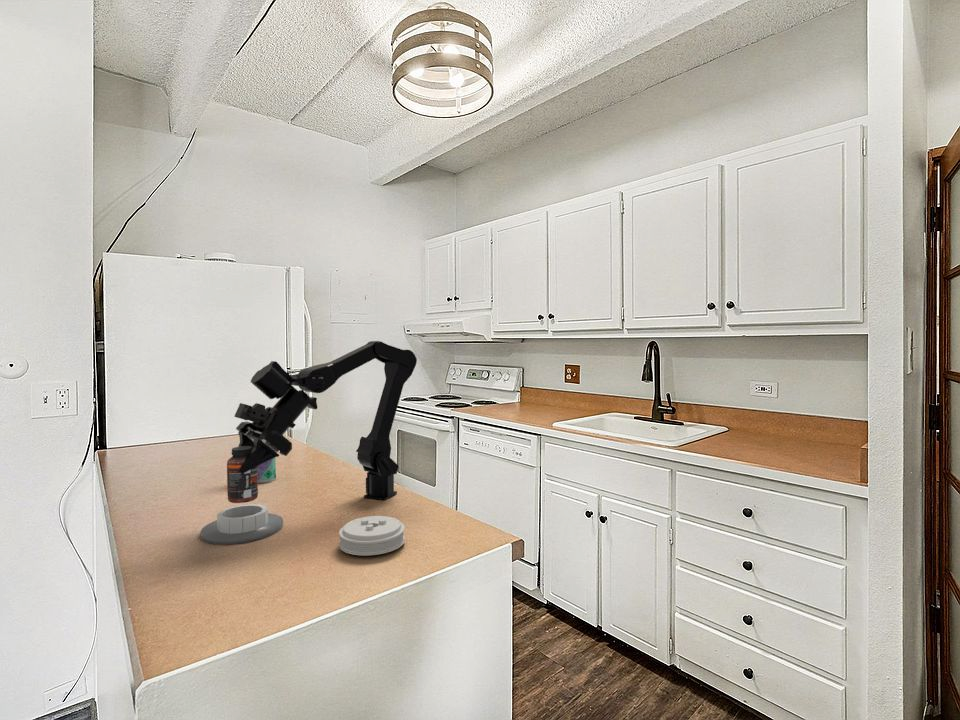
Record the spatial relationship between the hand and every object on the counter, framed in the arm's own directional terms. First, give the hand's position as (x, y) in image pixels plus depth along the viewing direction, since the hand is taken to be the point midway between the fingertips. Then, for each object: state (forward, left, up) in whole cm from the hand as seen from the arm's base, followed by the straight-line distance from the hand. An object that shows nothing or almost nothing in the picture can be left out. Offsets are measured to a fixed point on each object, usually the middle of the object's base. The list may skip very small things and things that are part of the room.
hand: (235, 469), depth 108 cm
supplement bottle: (-1, -1, -7) cm, 7 cm away
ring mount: (-1, -1, -13) cm, 13 cm away
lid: (-32, -3, -14) cm, 35 cm away
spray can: (+24, -34, -13) cm, 44 cm away
